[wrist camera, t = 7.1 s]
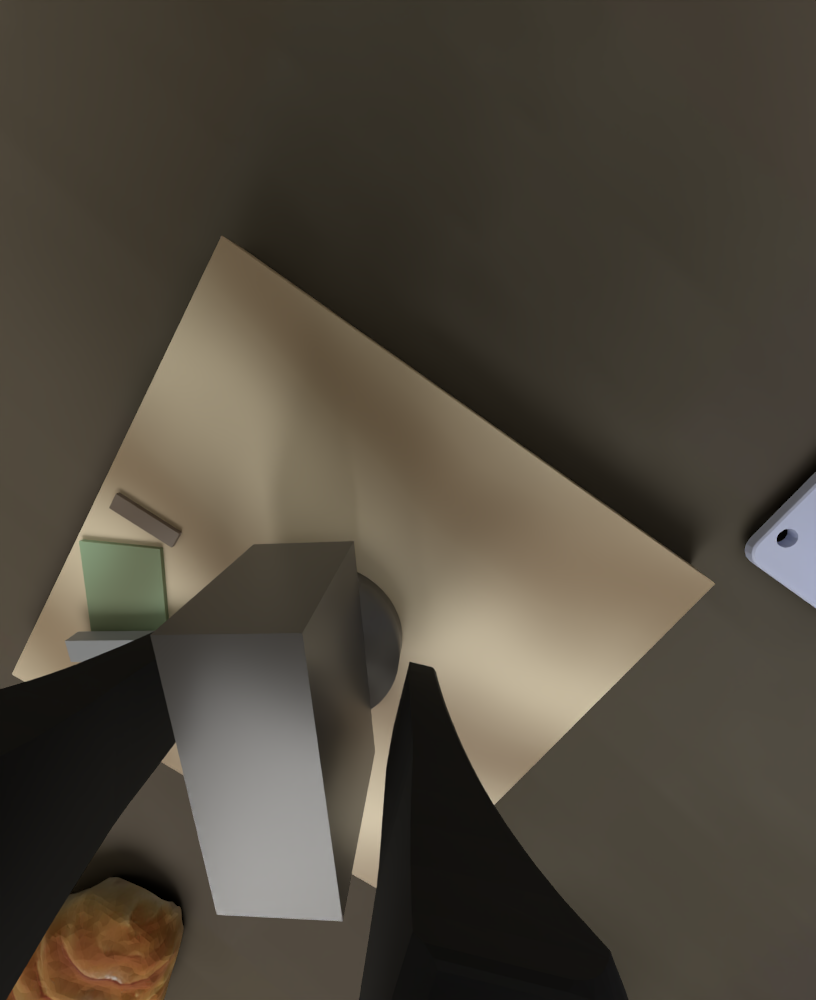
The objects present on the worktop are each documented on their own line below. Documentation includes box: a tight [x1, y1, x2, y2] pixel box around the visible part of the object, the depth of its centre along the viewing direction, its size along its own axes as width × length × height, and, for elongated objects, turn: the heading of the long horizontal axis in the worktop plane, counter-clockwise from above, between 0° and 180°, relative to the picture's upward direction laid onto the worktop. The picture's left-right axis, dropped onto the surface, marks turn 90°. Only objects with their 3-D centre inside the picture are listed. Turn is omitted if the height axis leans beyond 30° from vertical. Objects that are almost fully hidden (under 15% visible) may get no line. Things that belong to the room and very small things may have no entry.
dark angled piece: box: [65, 541, 402, 921], centre depth 11 cm, size 10×6×5 cm, turn 94°
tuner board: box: [12, 236, 715, 888], centre depth 14 cm, size 15×15×1 cm
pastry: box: [6, 877, 184, 1000], centre depth 18 cm, size 9×7×4 cm
